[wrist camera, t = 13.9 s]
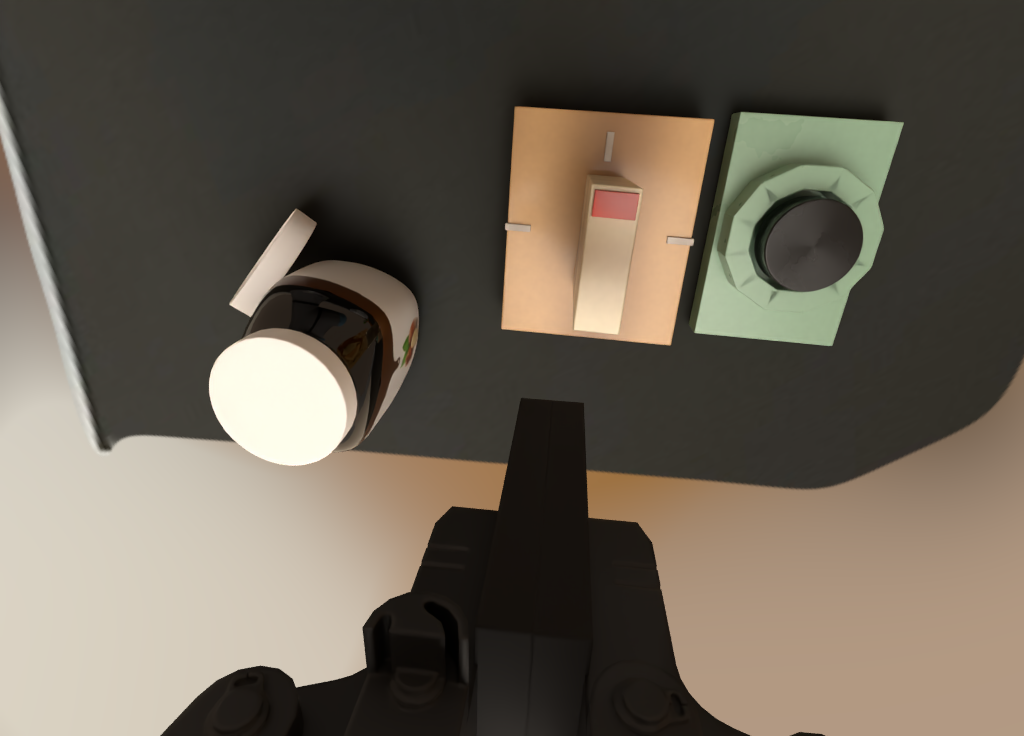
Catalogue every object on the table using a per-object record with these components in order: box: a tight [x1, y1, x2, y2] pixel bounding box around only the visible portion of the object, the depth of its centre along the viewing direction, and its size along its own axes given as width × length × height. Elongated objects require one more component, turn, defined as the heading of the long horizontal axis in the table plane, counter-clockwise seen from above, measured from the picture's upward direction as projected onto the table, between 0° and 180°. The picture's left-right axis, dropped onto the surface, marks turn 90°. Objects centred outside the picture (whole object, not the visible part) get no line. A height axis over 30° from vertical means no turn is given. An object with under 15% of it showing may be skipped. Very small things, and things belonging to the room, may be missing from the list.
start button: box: [754, 196, 863, 292], centre depth 27 cm, size 5×5×2 cm
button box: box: [689, 112, 904, 346], centre depth 29 cm, size 12×8×4 cm, turn 177°
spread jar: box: [209, 209, 419, 466], centre depth 30 cm, size 12×11×12 cm
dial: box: [573, 174, 643, 335], centre depth 25 cm, size 6×2×8 cm, turn 176°
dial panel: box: [501, 106, 714, 345], centre depth 30 cm, size 10×12×3 cm
